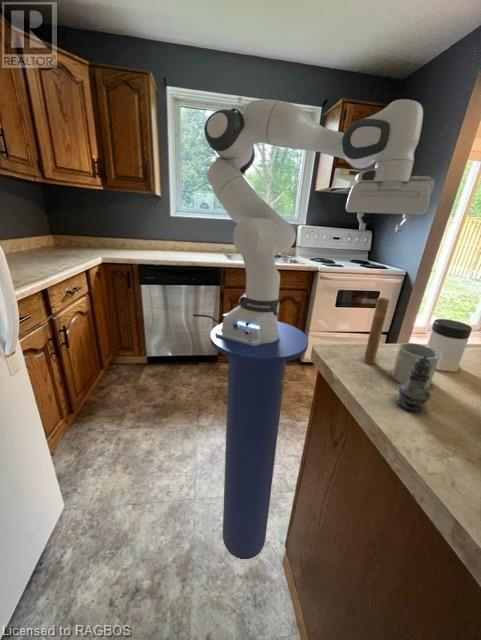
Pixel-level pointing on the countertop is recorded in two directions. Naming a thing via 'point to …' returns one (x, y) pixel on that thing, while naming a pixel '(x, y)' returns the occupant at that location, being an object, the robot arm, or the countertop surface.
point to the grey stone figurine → (415, 387)
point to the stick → (376, 330)
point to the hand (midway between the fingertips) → (379, 230)
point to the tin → (407, 359)
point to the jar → (449, 342)
